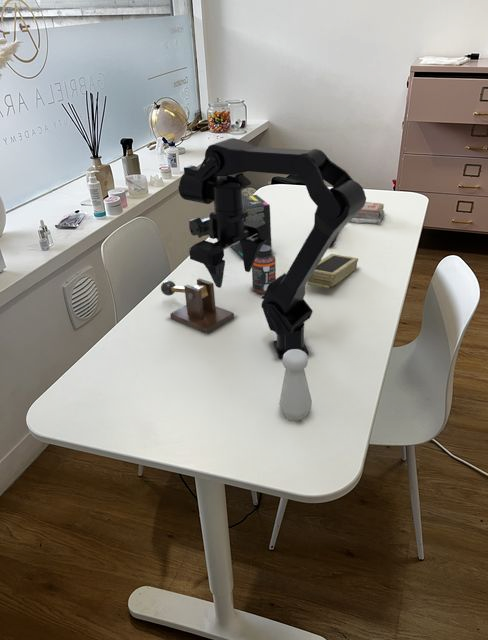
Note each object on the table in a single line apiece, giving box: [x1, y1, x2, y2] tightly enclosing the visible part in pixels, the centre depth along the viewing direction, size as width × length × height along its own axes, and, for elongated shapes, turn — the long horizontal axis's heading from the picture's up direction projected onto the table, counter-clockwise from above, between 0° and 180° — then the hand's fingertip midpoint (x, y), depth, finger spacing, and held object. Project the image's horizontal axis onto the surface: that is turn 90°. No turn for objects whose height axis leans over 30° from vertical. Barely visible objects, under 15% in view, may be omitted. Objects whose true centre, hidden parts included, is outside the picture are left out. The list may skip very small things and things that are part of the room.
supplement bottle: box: [251, 245, 277, 295], centre depth 140 cm, size 6×6×11 cm
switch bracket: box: [169, 278, 235, 335], centre depth 129 cm, size 12×9×9 cm
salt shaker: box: [278, 349, 313, 422], centre depth 98 cm, size 6×6×13 cm
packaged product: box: [349, 201, 385, 225], centre depth 184 cm, size 18×5×10 cm
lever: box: [160, 280, 208, 298], centre depth 132 cm, size 14×4×4 cm, turn 51°
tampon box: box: [230, 194, 273, 260], centre depth 161 cm, size 11×9×15 cm
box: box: [306, 253, 359, 289], centre depth 147 cm, size 8×22×5 cm, turn 155°
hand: (233, 279), depth 119 cm, fingers open, 9 cm apart
